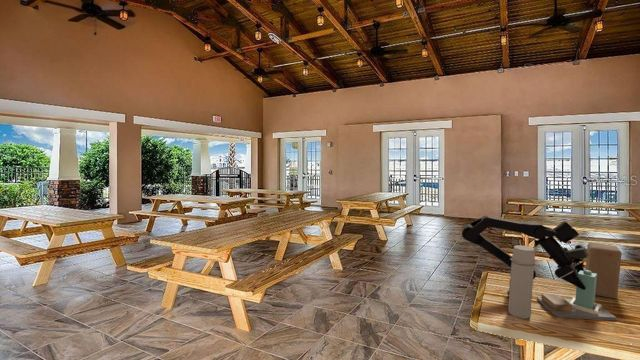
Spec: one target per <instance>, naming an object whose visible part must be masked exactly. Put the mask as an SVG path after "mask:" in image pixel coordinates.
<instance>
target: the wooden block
mask: <svg viewBox="0 0 640 360" xmlns="http://www.w3.org/2000/svg"><path fill="white" fill-rule="evenodd" d="M586 247H587V248H586V249H587V252H588V255H589V256H587V258H585V268H584V270H589V271H592V273H596V274H597V280H596V291H595V296H600V297H604V298H609V299H617V298H618V295H619V285H620V283H619V282H620V276H621V275H620V274H621V263H622V255H623V254H622V251H621V250H620V249H619V247H618V246H617V245H613V244H604V243H597V242H588V243H587V246H586Z"/></svg>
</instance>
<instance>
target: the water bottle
mask: <svg viewBox="0 0 640 360" xmlns="http://www.w3.org/2000/svg"><path fill="white" fill-rule="evenodd" d="M535 254H536V252H535V248H533V247H532V246H528V245H514V246H513V250H512V255H511V256H512V258H510V260H511V259H512V260H511V261H512V264H511V267H510V272H511V276H510V279H509V285H510V294H509V293H508V294H509V297H508V309H507V310H508V313H509V314H510V315H511V316H512V317H515V318H518V319H521V320H522V319H525V320H526V319H529V318H531V312H532V301H533V287H534V279H533V274H534V271H535V264H536V263H537V261H536V255H535Z"/></svg>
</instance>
